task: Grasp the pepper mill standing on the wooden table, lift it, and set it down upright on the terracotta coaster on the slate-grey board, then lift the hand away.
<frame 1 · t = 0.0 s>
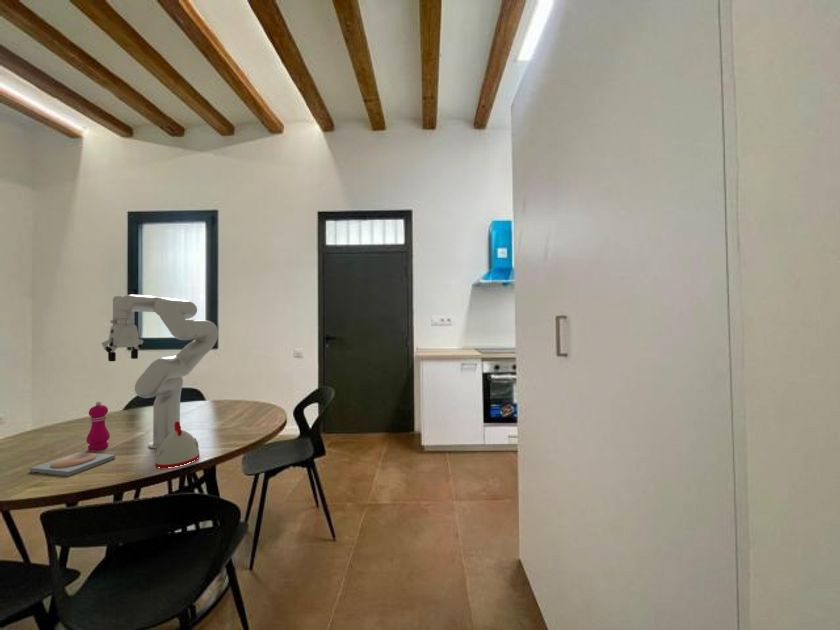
hand: (123, 359, 154), 37 cm above the table, tool pointing down, fingers open, 9 cm apart
kitchen timer: (178, 461, 130), on the table
slate board: (74, 465, 127), on the table
pepper mill: (98, 448, 144), on the table
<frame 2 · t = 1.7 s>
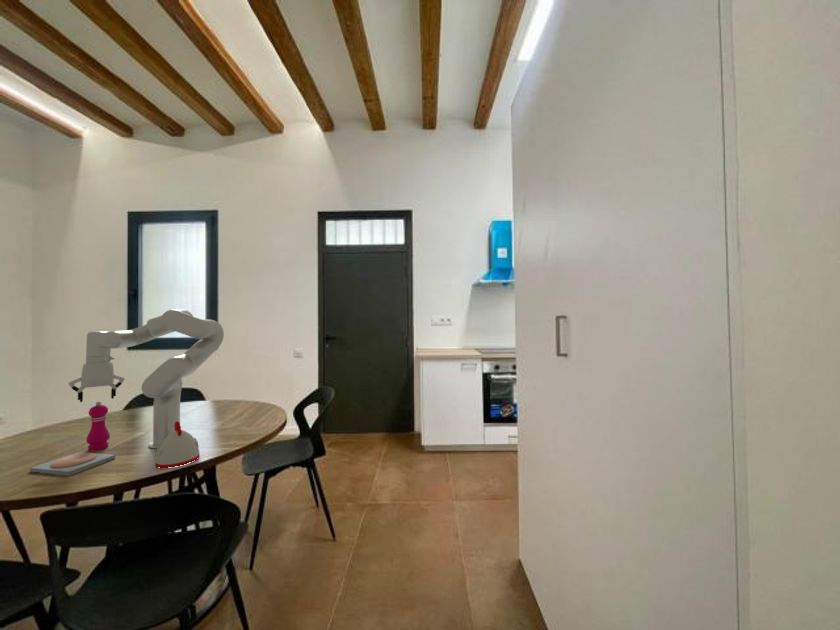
hand: (97, 399, 144), 21 cm above the table, tool pointing down, fingers open, 9 cm apart
nothing on the table moved.
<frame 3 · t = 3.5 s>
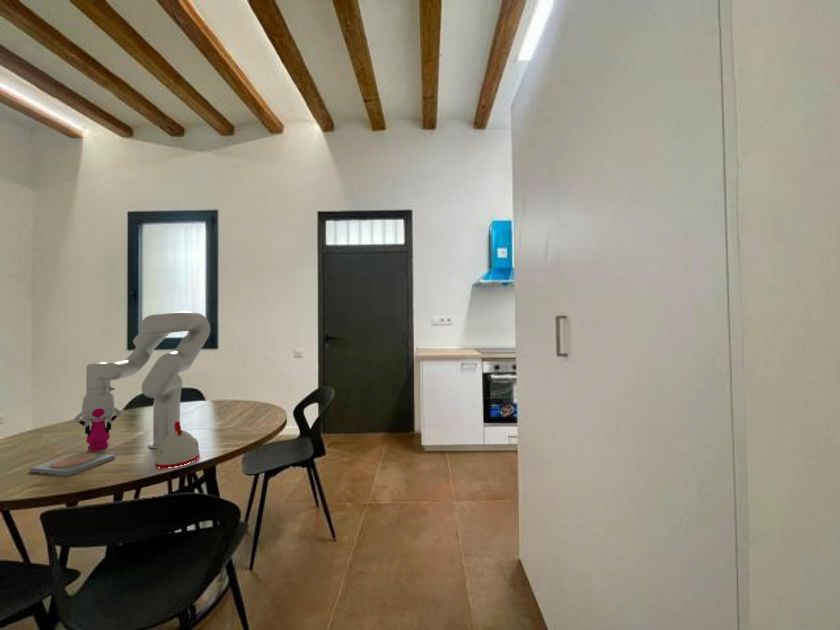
hand: (98, 433, 144), 7 cm above the table, tool pointing down, fingers closed on pepper mill, 5 cm apart
pepper mill: (98, 448, 144), on the table, touching gripper
everything else where it was.
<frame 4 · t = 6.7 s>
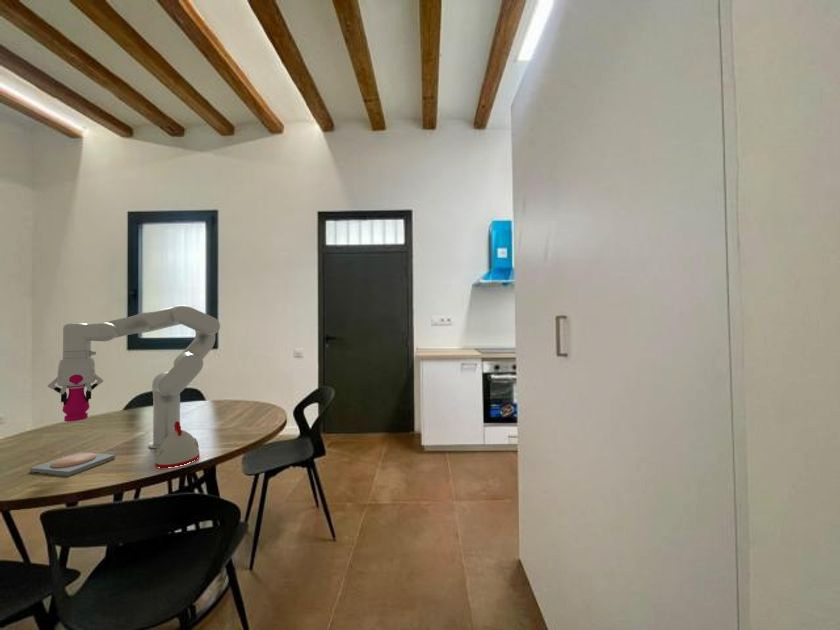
hand: (76, 402, 129), 23 cm above the table, tool pointing down, fingers closed on pepper mill, 5 cm apart
pepper mill: (76, 419, 128), point 17 cm above the table, touching gripper
everything else where it was.
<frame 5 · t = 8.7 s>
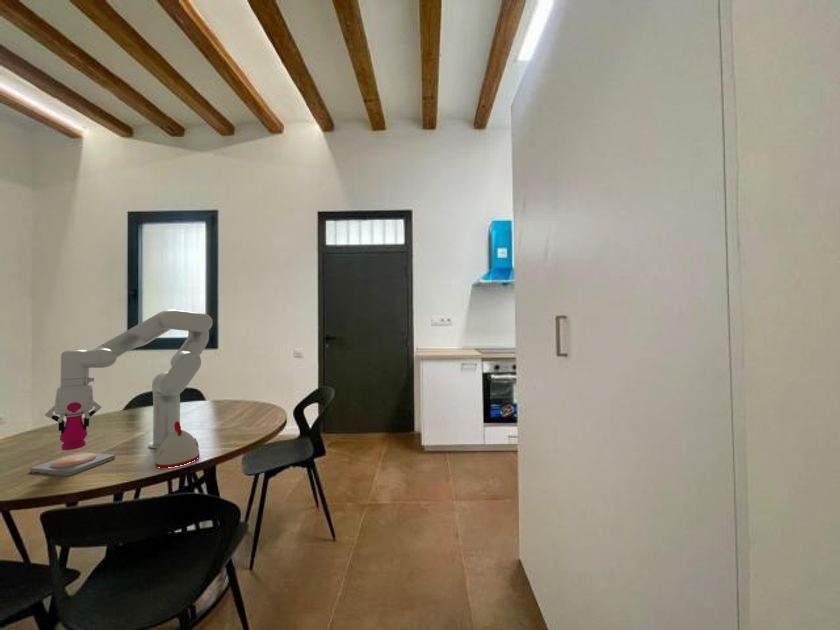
hand: (74, 430, 127), 13 cm above the table, tool pointing down, fingers closed on pepper mill, 5 cm apart
pepper mill: (73, 447, 127), point 7 cm above the table, touching gripper
everything else where it was.
when the fingers open (10 cm above the table, at t = 9.8 s): pepper mill drops 1 cm, resting on slate board.
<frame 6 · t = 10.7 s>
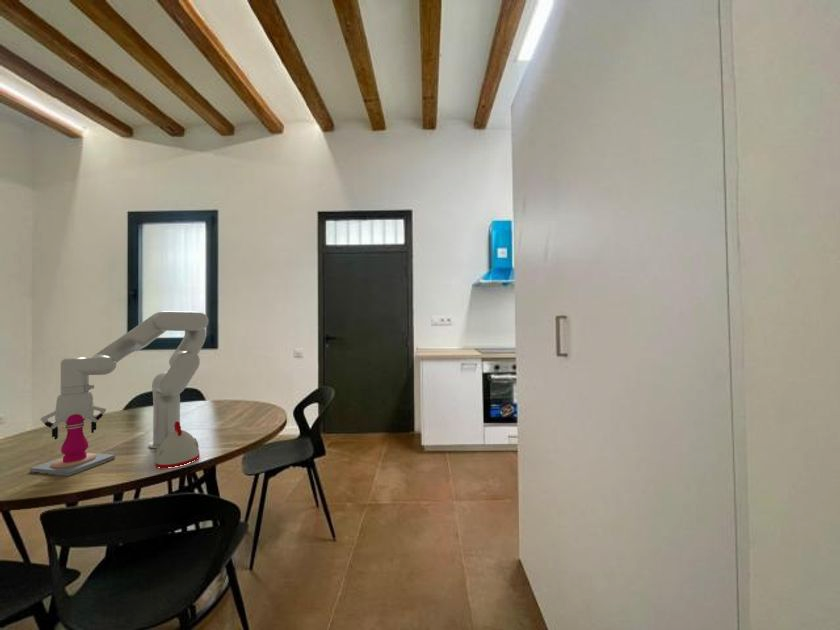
hand: (74, 435, 127), 11 cm above the table, tool pointing down, fingers open, 9 cm apart
pepper mill: (74, 459, 127), point 2 cm above the table, touching slate board
everything else where it was.
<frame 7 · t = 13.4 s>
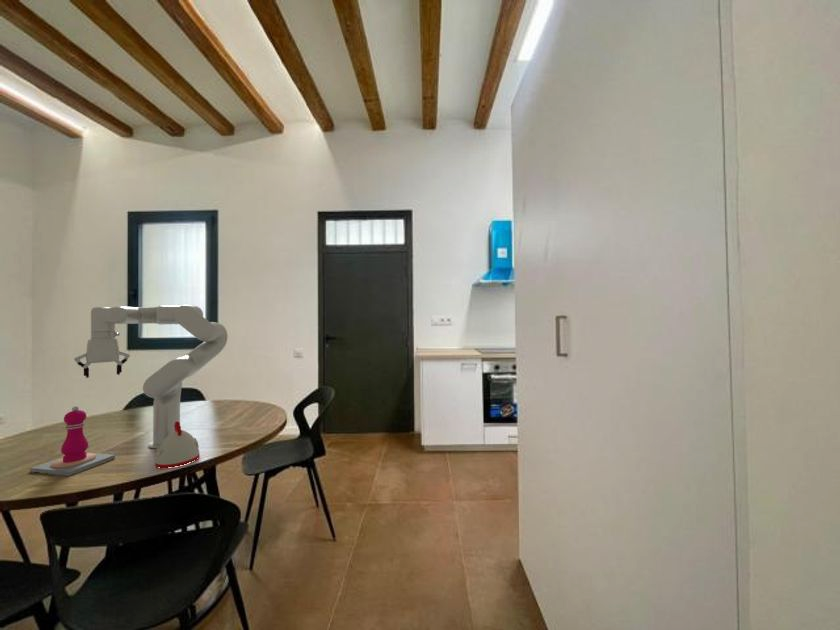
hand: (103, 375, 143), 31 cm above the table, tool pointing down, fingers open, 9 cm apart
nothing on the table moved.
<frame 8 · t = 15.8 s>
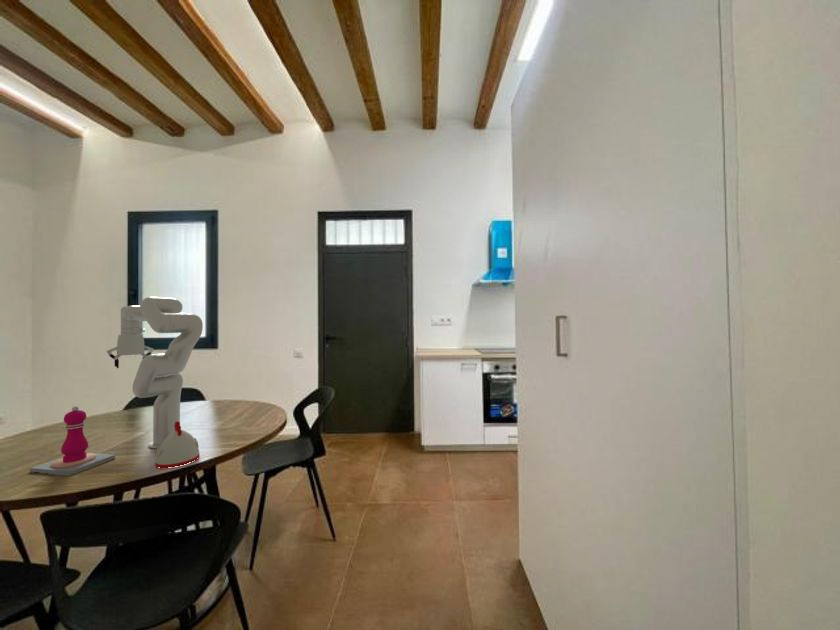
hand: (130, 366, 163), 32 cm above the table, tool pointing down, fingers open, 9 cm apart
nothing on the table moved.
at the end: pepper mill 0.1 cm off-centre on the slate board, point 1.9 cm above the slate board's base; pepper mill tilted 0°; the gripper is holding nothing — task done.
